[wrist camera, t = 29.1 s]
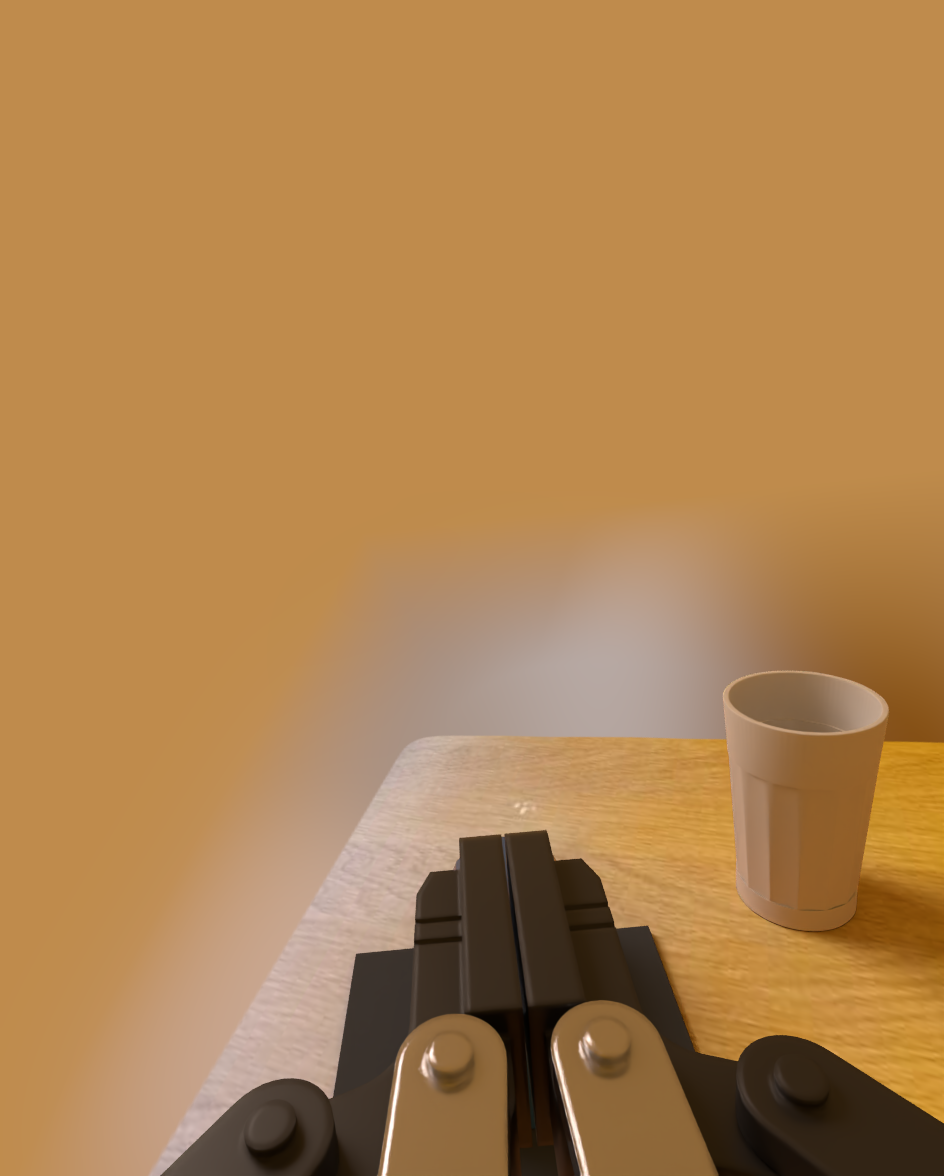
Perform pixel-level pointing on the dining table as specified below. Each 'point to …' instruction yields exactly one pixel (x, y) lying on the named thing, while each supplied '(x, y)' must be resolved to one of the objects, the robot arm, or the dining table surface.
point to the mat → (385, 1019)
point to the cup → (802, 792)
